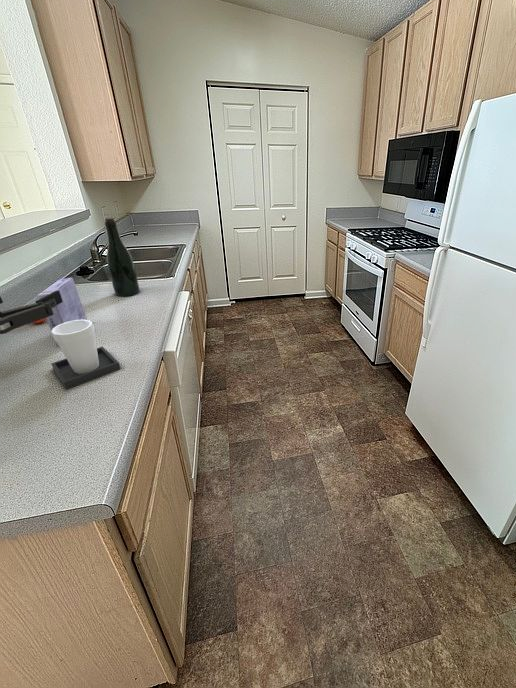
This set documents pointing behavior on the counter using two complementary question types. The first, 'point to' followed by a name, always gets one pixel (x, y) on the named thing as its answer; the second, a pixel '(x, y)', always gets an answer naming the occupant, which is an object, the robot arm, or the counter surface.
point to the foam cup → (78, 344)
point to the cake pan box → (64, 303)
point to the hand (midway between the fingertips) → (29, 296)
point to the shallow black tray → (72, 379)
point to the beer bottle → (120, 263)
